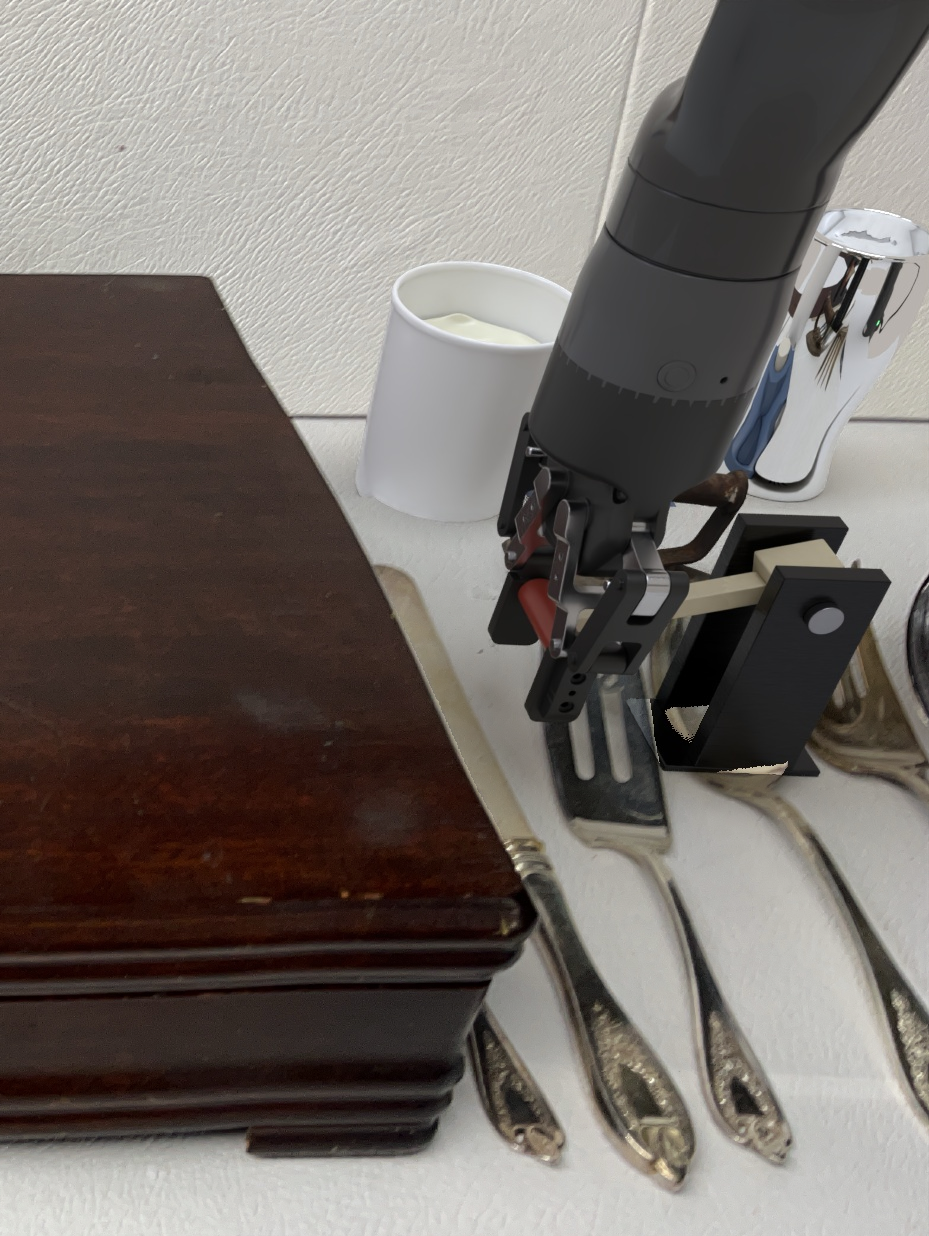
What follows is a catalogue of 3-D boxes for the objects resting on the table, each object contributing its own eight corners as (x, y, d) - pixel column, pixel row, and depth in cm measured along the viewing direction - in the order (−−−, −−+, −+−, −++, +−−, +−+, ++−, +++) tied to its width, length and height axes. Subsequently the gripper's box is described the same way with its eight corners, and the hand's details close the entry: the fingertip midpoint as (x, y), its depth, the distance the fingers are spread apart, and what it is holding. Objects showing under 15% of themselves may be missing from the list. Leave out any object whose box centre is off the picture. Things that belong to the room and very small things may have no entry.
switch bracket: (659, 792, 82) (758, 584, 74) (615, 709, 86) (703, 505, 79) (815, 798, 81) (930, 590, 74) (762, 714, 86) (864, 510, 78)
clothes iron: (472, 559, 97) (568, 397, 91) (665, 614, 97) (772, 456, 92) (509, 626, 91) (613, 457, 85) (714, 684, 92) (831, 520, 86)
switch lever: (551, 682, 79) (551, 641, 77) (517, 615, 82) (517, 574, 81) (854, 630, 76) (860, 586, 74) (804, 562, 80) (809, 519, 78)
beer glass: (800, 521, 99) (918, 272, 89) (677, 471, 103) (778, 228, 93) (852, 477, 102) (971, 233, 93) (732, 430, 106) (834, 192, 97)
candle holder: (522, 557, 96) (594, 359, 88) (335, 523, 99) (389, 328, 91) (519, 465, 103) (585, 275, 96) (344, 436, 106) (395, 249, 98)
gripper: (835, 444, 65) (669, 786, 76) (688, 269, 76) (561, 589, 87) (627, 436, 65) (491, 778, 76) (511, 263, 76) (406, 583, 87)
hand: (529, 676), depth 82 cm, fingers closed on switch lever, 5 cm apart
